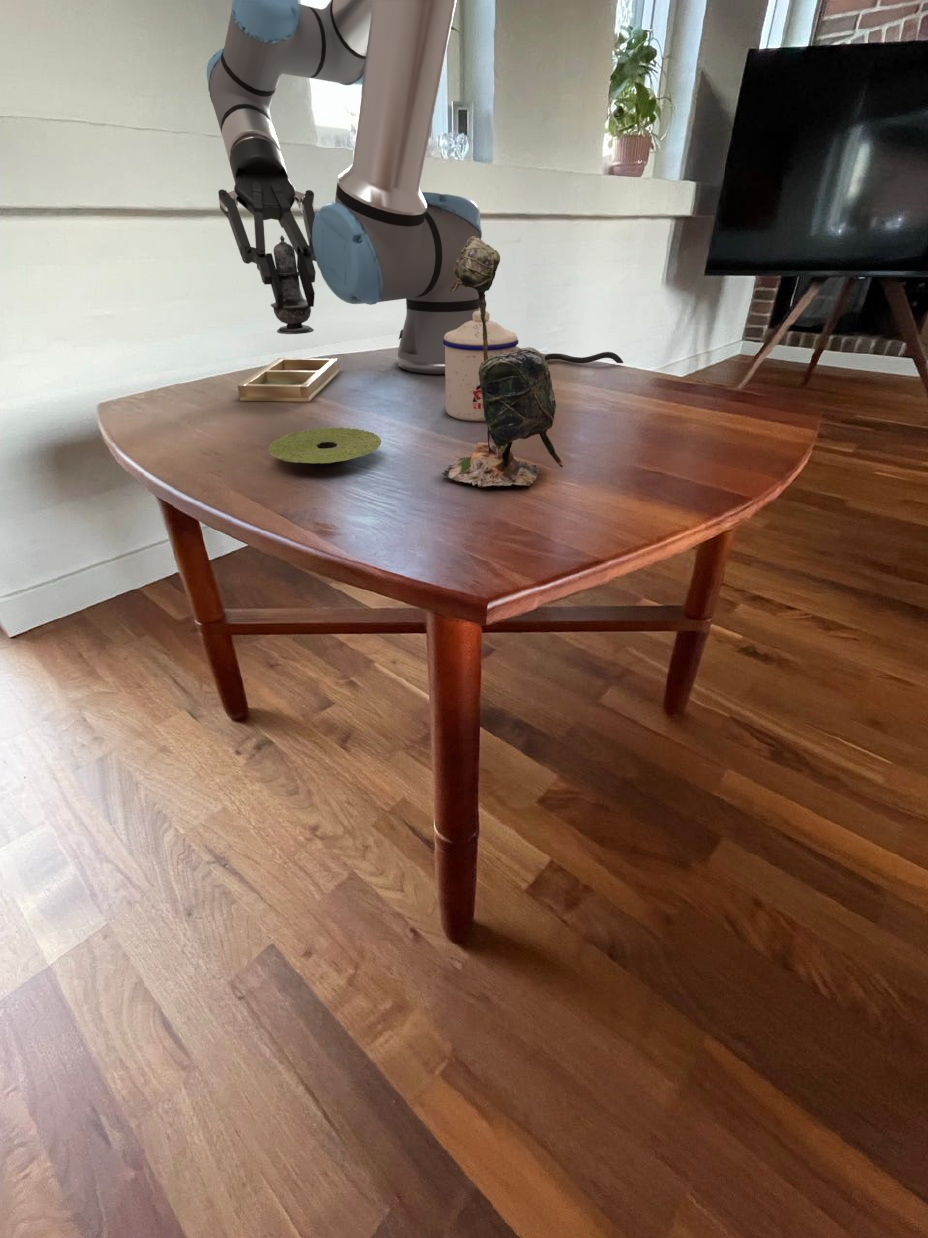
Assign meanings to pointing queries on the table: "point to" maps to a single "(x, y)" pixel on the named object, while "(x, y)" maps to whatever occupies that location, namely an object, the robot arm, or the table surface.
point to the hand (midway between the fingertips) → (295, 300)
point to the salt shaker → (290, 292)
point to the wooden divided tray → (289, 380)
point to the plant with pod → (503, 390)
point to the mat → (324, 445)
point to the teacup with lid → (471, 364)
